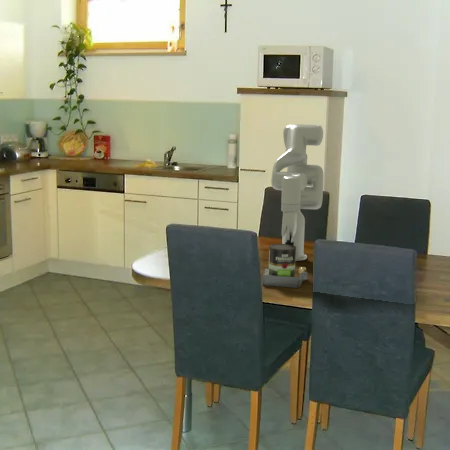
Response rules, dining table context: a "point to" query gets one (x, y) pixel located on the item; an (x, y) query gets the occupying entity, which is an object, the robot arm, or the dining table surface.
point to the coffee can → (282, 259)
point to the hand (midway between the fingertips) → (289, 251)
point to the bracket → (283, 280)
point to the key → (302, 269)
